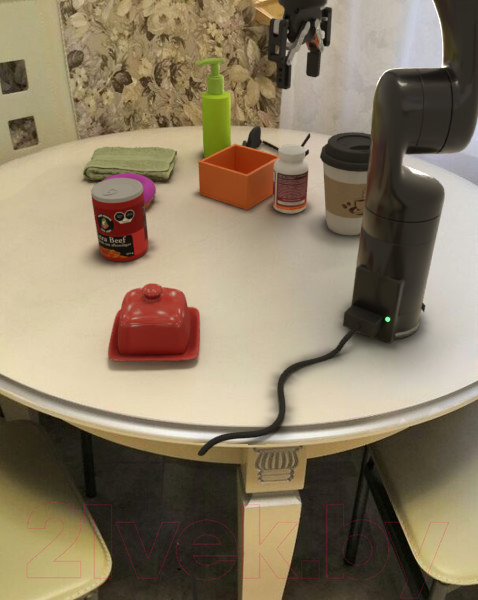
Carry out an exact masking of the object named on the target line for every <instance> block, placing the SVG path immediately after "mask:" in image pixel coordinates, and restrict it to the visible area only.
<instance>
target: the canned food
mask: <svg viewBox="0 0 478 600" xmlns="http://www.w3.org/2000/svg"><path fill="white" fill-rule="evenodd" d="M90 192H91V194H90V195H91V203H92V209H93V216H94V222H95V229H96V237H97V241H98V248H99V251H100V253H101V255H102V257H103V258H104V259H106V260H108V261H111V262H119V263H120V262H121V263H122V262H129V261H133V260H137V259H139V258H140V257H141V258H142V257H143V255H145V254H146V253H147V251H148V247H149V234H148V233H149V232H148V225H147V224H148V223H147V222H148V221H147V213H146V208H145V200H144V191H143V186H142V184H141V183H140V182H139V181H137V180H135V179H130V178H113V179H108V180H105V181H103V180H102V181H99V182H98V183H95V184H94V185H93V186H92V187H91V190H90Z"/></svg>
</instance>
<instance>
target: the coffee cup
mask: <svg viewBox="0 0 478 600" xmlns="http://www.w3.org/2000/svg"><path fill="white" fill-rule="evenodd" d="M370 138H371V133H366V132H358V131H357V132H355V131H351V132H350V131H347V132H340V133H336V134H333V135H332V136H330V137H329V138H328V139H327V142H326V144H325V145H324V146H322V148H321V151H320V155H319V158H320V160H321V162H322V165H323V166H322V167H323V188H324V208H325V222H326V226H327V228H328V229H329V230H330V231H331V232H333V233H335V234H337V235H342V236H359V235H360V233H361V225H362V218H363V210H364V203H365V195H366V185H367V170H368V160H369V151H370Z"/></svg>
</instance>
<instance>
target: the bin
mask: <svg viewBox="0 0 478 600" xmlns="http://www.w3.org/2000/svg"><path fill="white" fill-rule="evenodd" d="M277 159H279V157H278V154H276V153H275V154H274V153H272V152H267V151H264V150H260V149H257V148H256V149H253V148H249V147H246V146H242V144H238V143H233V144H231V146H229V147H227V148H225V149H223V150H221V151H219V152H217V153H215V154H213V155H211V156H209V157H207V158H205V157H203V159H201V160H199V161H198V162H197V163H198V184H199V185H198V187H199V195H201V196H204V197H207V198H209V199H212V200H216V201H219V202H222V203H225V204H227V205H231V206H233V207H237V208H239V209H242V210H244V211H245V210H246V211H249V210H251V208H253V207H255V206H256V205H259V203H261V202H263V201H264V200H266V199H267V198H269V197H270V196H273V169H274V163H275V161H276V160H277Z"/></svg>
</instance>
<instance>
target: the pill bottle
mask: <svg viewBox="0 0 478 600" xmlns="http://www.w3.org/2000/svg"><path fill="white" fill-rule="evenodd" d="M278 148H279V149H278V151H277V155H278V157H279V159H277V160H276V161H275V163H274V169H273V194H272V208H273V209H274V210H275V211H277V212H280V213H282V214H289V215H291V214H292V215H293V214H297V213H301V212H302V211H304V210H305V209H306V207H307V203H308V202H307V199H308V185H309V184H308V183H309V170H310V169H309V168H310V167H309V163H308V161H307V160H306V156H305V152H306V148H305V146H304V147H302V146H301V145H299V144H283V145H281V146H279V147H278Z"/></svg>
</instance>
